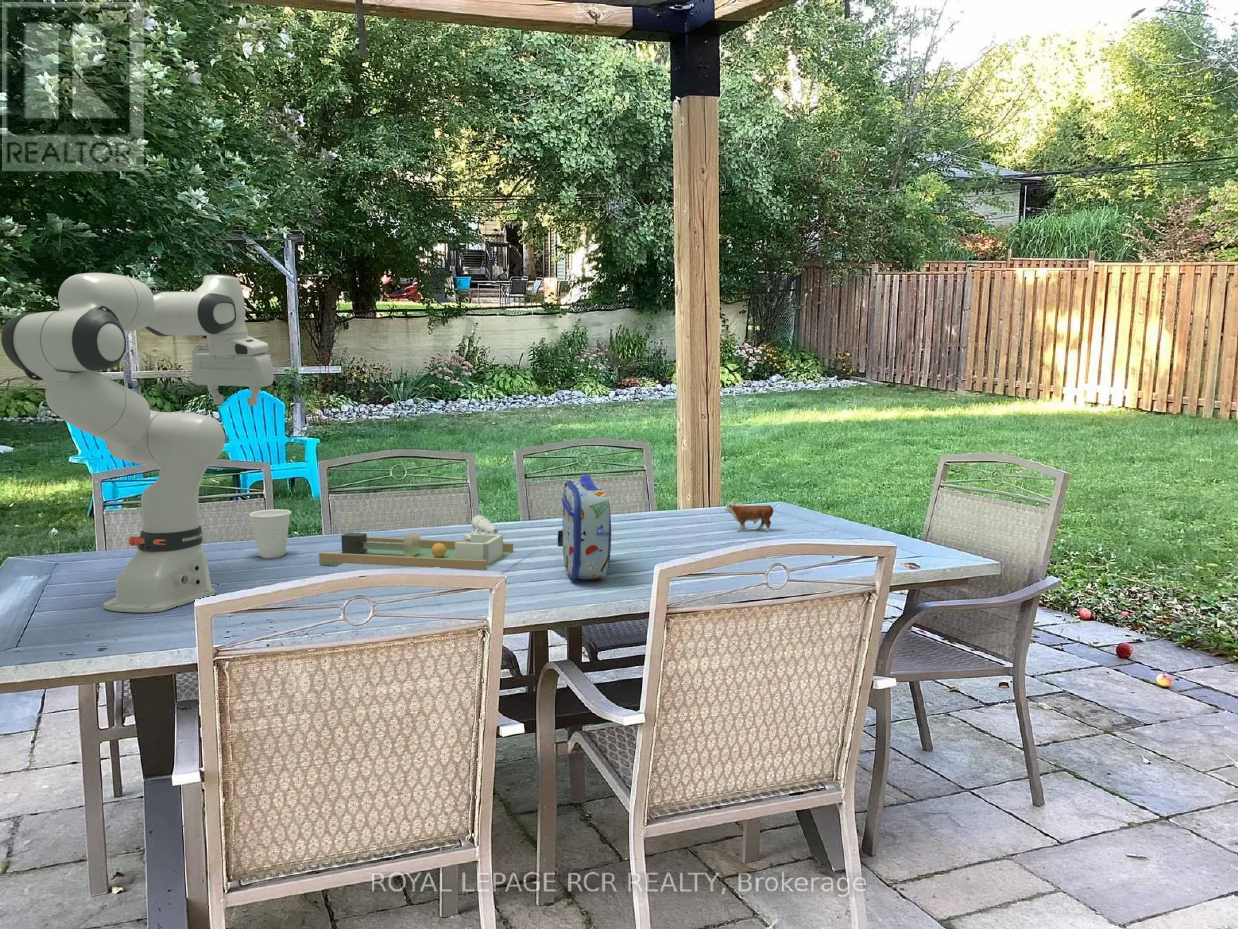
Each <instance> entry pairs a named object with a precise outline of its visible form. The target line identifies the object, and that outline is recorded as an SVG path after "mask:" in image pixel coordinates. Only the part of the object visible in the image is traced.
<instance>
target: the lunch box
mask: <svg viewBox="0 0 1238 929" xmlns="http://www.w3.org/2000/svg"><path fill="white" fill-rule="evenodd" d="M561 496H562V498H561V501H562V507H563V508H562V523H561V524H562V529H560V530H558V532H557V547H558V548H559V547H562V555H563V556H562V558H563V563H564V568H565V571H566V573H567V576H568V577H569V578H570V579H572V580H575V579H576V580H601V579H602V580H604V579H605V578H606V577H607V575H608V572H609V569H610V562H611V561H610V560H611V551H612V518H611V506H610V502H609V497H608V495H607V493H606V492H605V490H603V488H602V487H601V486H600V484H599V483H598V481H597V480H592V477H591V474H585V475H580V476H579V480H578V479H577V480H576V479H570V480H567V481H565V483H564V486H563V492H561Z"/></svg>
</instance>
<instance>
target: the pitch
mask: <svg viewBox="0 0 1238 929" xmlns="http://www.w3.org/2000/svg"><path fill="white" fill-rule="evenodd" d="M367 541H373V542H395V543H404V538H398V537H396V538H395V537H377V536H373V537H372V536H367ZM456 542H467V543H471V541H468V540H467V541H465V540H464V541H463V540H462V541H461V540H446V539H445V540H442V539H423V538H422V539H421V538H420V549H421V553H419V554H417V555H415V556H413V557H406V556H404V551H398V550H377V549H367V552H364V553H362V554H347V553H342V551H340V552H324V551H323V552H319V553H318V558H319V561H318V562H319V563H318V564H319V566H320V565H336V566H335V567H338V566H340V565H343V564H357V565H358V564H361V565H374V566H376V565H377V566H378V565H379V566H380V565H381V566H395V567H396V566H397V567H398V566H399V567H415V568H417V567H418V568H434V567H440V568H439V569H457V570H458V569H459V570H477V571H486V570H487V569H489V568H490V567H492V566H493V565H494V564H496V563H498V562H500V561H501V560H502V559H504V558H505V557H507V556H509V555H510V554H512V553H513V552H514V543H510V542H509V543H508V542H503V556H501V557H500V558H498V559H496V560H495V561H493V562H492V563H490V564H489V565H486V560H467V559H455V543H456ZM437 543H442V544H443V545H445V547H446V553H445V555H444V556H443V557H435V556H434V555H433V554H432V547H433V546H434V545H435V544H437Z"/></svg>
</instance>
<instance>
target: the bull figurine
mask: <svg viewBox="0 0 1238 929" xmlns="http://www.w3.org/2000/svg"><path fill="white" fill-rule="evenodd" d="M724 511H725V512H728V513H729V514H731V515H732V517H733V518H734V520H736V522H738V523H739V527H738V529H737V530H736V532H737V533H738V532H739V533H740V532H741V531H744V530H746V522H752V523H753V524H754V525H755V524H757V522H758V521H760V520H761V522H760V525H759V526H758V527H757V528H756V530H757V531H760V530H762V529H763V527H764V525H765V526H766V528H765V529H764V532H765V533H769V532H768V531H770V527H771V524H772V522H771V520H770V519H771V517H772V516H773V515H774V508H773V507H772V506H771V505H769V504H767V505H748V504H743V503H741V502H738V503H737V502H734V501H730V502H729V503H728V504H727V506H725V508H724Z"/></svg>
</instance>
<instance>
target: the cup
mask: <svg viewBox="0 0 1238 929" xmlns="http://www.w3.org/2000/svg"><path fill="white" fill-rule="evenodd" d="M291 514H292V511H291V510H289V509H279V508H278V509H263V510H261V509H260V510H256V511H252V512H250V513H249V514H248V515H249V517H250V521H251V525H252V528H253V531H254V532H253V533H254V537H255V541H256V545H257V546H256V547H257V551H258V554H259V557H260V558H262V559H277V558H278V559H279V558H282V557H284V556H285V555H286V553H287V552H286V550H287V543H288V535H289V534H288V533H289V527H290V526H289V525H290V519H291ZM283 555H284V556H283ZM281 556H282V557H281Z"/></svg>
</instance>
